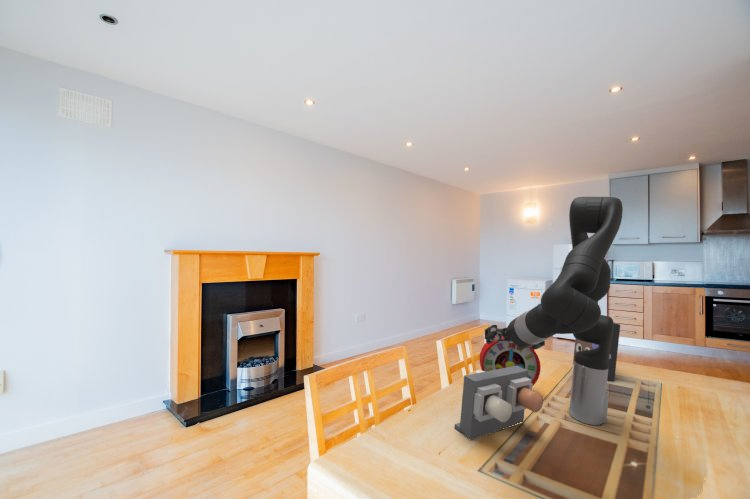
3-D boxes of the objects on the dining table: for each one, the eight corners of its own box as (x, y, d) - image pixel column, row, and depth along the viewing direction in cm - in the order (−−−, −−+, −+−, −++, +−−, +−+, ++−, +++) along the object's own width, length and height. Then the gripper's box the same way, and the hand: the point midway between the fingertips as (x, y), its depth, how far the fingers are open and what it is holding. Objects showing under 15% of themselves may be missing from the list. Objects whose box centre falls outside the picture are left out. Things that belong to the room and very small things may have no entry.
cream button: (484, 415, 91) (485, 396, 90) (497, 411, 93) (498, 393, 93) (497, 424, 87) (499, 404, 87) (511, 420, 89) (512, 401, 89)
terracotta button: (516, 406, 97) (518, 389, 97) (528, 403, 100) (529, 386, 99) (530, 414, 93) (532, 396, 93) (542, 410, 96) (543, 393, 96)
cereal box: (572, 365, 158) (578, 313, 157) (581, 365, 159) (587, 314, 158) (604, 381, 141) (610, 323, 140) (614, 381, 142) (620, 324, 141)
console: (506, 413, 108) (511, 363, 107) (529, 426, 101) (534, 373, 101) (454, 428, 97) (459, 372, 97) (475, 444, 90) (480, 384, 90)
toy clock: (479, 389, 124) (483, 335, 123) (477, 382, 130) (481, 330, 129) (537, 398, 121) (543, 342, 120) (533, 391, 126) (538, 337, 126)
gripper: (558, 319, 85) (527, 335, 99) (501, 307, 85) (478, 325, 99) (560, 350, 81) (527, 362, 96) (501, 337, 82) (477, 351, 96)
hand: (502, 343), depth 98 cm, fingers open, 8 cm apart
